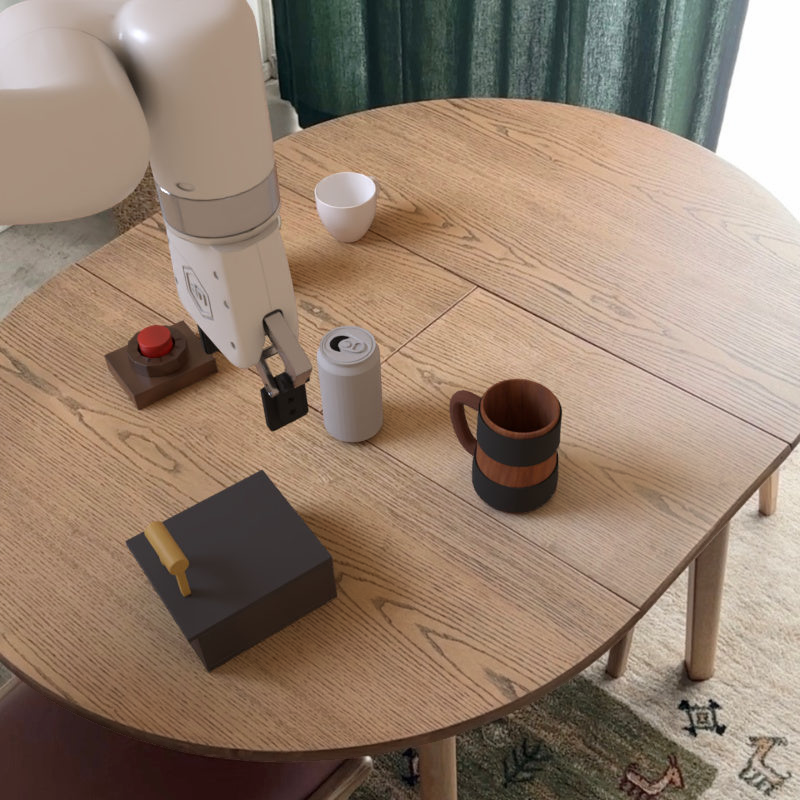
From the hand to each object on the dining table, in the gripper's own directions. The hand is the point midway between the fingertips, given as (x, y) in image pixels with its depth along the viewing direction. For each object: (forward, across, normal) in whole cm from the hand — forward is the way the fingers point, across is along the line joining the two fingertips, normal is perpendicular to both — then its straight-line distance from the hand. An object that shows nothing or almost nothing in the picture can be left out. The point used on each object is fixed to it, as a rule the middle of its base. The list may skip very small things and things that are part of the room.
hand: (254, 381), depth 79 cm
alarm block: (+29, -35, +3) cm, 45 cm away
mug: (+29, 0, +24) cm, 38 cm away
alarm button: (+25, -35, +3) cm, 43 cm away
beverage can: (+29, -15, +16) cm, 36 cm away
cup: (+29, -44, +35) cm, 63 cm away
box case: (+29, -4, -4) cm, 29 cm away
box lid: (+23, -4, -4) cm, 23 cm away
